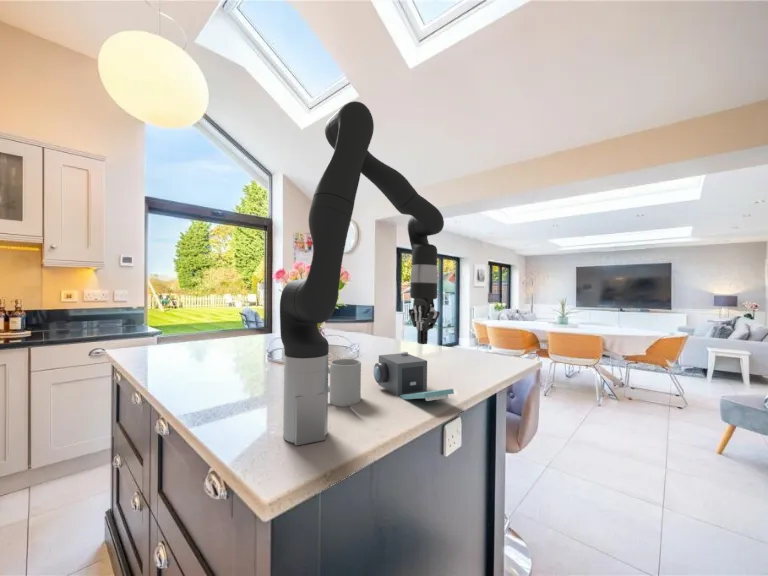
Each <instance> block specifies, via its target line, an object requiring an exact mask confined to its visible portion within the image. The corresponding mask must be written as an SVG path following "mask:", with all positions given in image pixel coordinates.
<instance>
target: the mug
mask: <svg viewBox="0 0 768 576" xmlns="http://www.w3.org/2000/svg"><path fill="white" fill-rule="evenodd" d="M329 364H330V365H329V366H328V375H329V379H330V380H329V385H328V393H329V403H330V404H331V405H332V406H335V407H340V408H348V407H349V408H350V406H351V405H355V404H357V403H359V402H360V401H361V400H362V399H361V398H362V397H361V395H362V394H361V393H362V392H361V389H362V388H361V387H362V385H361V383H362V382H361V381H362V377H361V376H362V374H361V373H362V362H361V361H360V360H358V359H353V358H340V359H335V360H332V361H331V362H330V363H329Z"/></svg>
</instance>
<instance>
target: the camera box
mask: <svg viewBox="0 0 768 576" xmlns="http://www.w3.org/2000/svg"><path fill="white" fill-rule="evenodd" d="M373 377H374V380H375V382H376V383H377V384H378V386H380V387H381V388H383V389H385V390H386V391H388V392H390V393H391V394H393V395H394V396H395V397H401V396H400V395H405V394H412V393H418V392H425V391H428V360H426V359H423V358H420V357H418V356H415V355H412V354H409V352H408V351H400V353H391V354H390V353H389V354H379V355H378V362H376V363H375V364H374V366H373Z"/></svg>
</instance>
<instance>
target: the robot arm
mask: <svg viewBox="0 0 768 576" xmlns="http://www.w3.org/2000/svg"><path fill="white" fill-rule="evenodd" d="M374 129H375V124H374V118H373V115H372V113H371V111H370V109H369V107H368V106H367V105H366V104H364V103H362V102H361V101H350V102H346V103H345V104H344V105H342V106H341V107H340V108H339V109H338V110H337V111H336V112H335V113H334V114H333V115H332V116H331V117H330V118H329V119H328V120H327V121H326V123H325V127H324V134H325V138H326V140H327V142H328V144H329V145H330V147H331V148H332V149H333V150H334V151H333V154H332V156H331V157H330V160H329V162H328V163H327V166H326V167H325V169H324V171H323V173H322V175H321V177H320V179H319V181H318V182H317V185H316V188H315V190H314V193H313V197H312V200H311V205H310V209H309V213H308V227H309V233H310V238H311V243H312V259H311V263H310V268H309V270H308V273H307V278H305V279H304V278H303V279H301V278H300V279H293V280H291V281H289V282H288V283H287V284H286V285H285V286H284V288H283V290H282V292H281V294H280V299H279V325H280V326H279V327H280V328H279V329H280V340H281V343H282V345H283V349H284V354H283V355H284V357H283V359H284V360H283V361H284V362H283V425H282V427H283V429H282V430H283V431H282V433H283V434H282V435H283V437H282V438H283V439H284V440H285V441H287V442H288V443H292V444H294V446H301V445H307V444H311V443H317V442H321V441H326V437H327V435H328V428H329V427H328V425H329V424H328V423H329V422H328V421H329V419H328V417H329V413H328V410H329V404H328V403H329V399H328V398H329V392H328V386H329V373H328V367H329V354H330V353H329V351H330V348H329V341H328V339H327V338H326V337H324V336H323V334H322V333H321V332H320V330H319V326H318V324H323V323H325V322H327V321H328V320H329V319H330V318H331V317H332V316H333V314H334V312H335V310H336V308H337V304H338V299H339V290H340V280H341V271H342V265H343V264H342V263H343V257H344V253H345V248H346V243H347V237H348V231H349V228H350V226H351V222H352V216H353V213H354V207H355V202H356V197H357V191H358V188H359V183H360V178H361V175H363V176H364V177H365V178H366V179H367V180H369V181H370V182H371V183H372V184H373V185H374V186H376V188H377V189H378V190H379V191H380V192H381V193H382V194H383V195H384V197H386V199H387V200H388V201H389V202H390V203H391V205H392V206H393V207H394V208H395V210H397V211H398V212H399V213H400V214H402V215H407V216H410V217H409V220H408V222H407V235H408V238H409V242H410V247H411V251H412V254H411V271H410V288H409V289H410V292H409V293H410V294H409V297H410V298H411V299H413V302H412V303H413V304H412V306H413V307H412V308H410V309H408V314H409V317H410V320H411V322H412V325H413V327H414V328H416V330H417V343H418V344H420V345H427V344H428V337H429V334H428V332H429V331H430V330H432V329H433V328H434V327H435V325H436V323H437V320H438V318H439V317H440V311H438V310H436V309H435V302H434V300H436V299H437V298H438V282H439V281H438V277H439V275H438V272H439V271H438V248H437V246H436V245H435V244H431V243H429V238H428V237H429V236H434V235H437V234H439V233H441V232H442V231H443V228H444V225H445V220H444V217H443V215H442V213H441V211H440V210H439V209H438V208H437V207H436V206H435V205H434V204H432V203H431V202H430V201H428V200H427V199H426V198H424V197H423V196H421V194H419V193H418V192H417V190H416V189H415V188H414V187H413V186H412V184H411V183H410V181H409V180H408V179H407V178H406V177H405V176H404V175H403V174H402V173H400V171H398V170H397V169H395V168H394V167H392V166H390V165H388V164H386V163H384V162H383V161H381V160H379V159H378V158H376V157H375V156H374V155H373V154H372V153H371V152H370V151H369V147H370V145H371V141H372V139H373V136H374Z"/></svg>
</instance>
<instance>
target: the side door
mask: <svg viewBox="0 0 768 576" xmlns="http://www.w3.org/2000/svg"><path fill="white" fill-rule="evenodd" d="M454 392H455V391H454V388H447V389H446V388H445V389H437V390H427V391H425V392H418V393H412V394H405V395H400V396H399V397H400V398H401V399H402V400H414V399H415V400H416V399H418V400H419V399H425V401H426V402H429V401H430V402H431V401H435V400H442V399H447V398H449V395H453V394H455V393H454Z"/></svg>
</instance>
